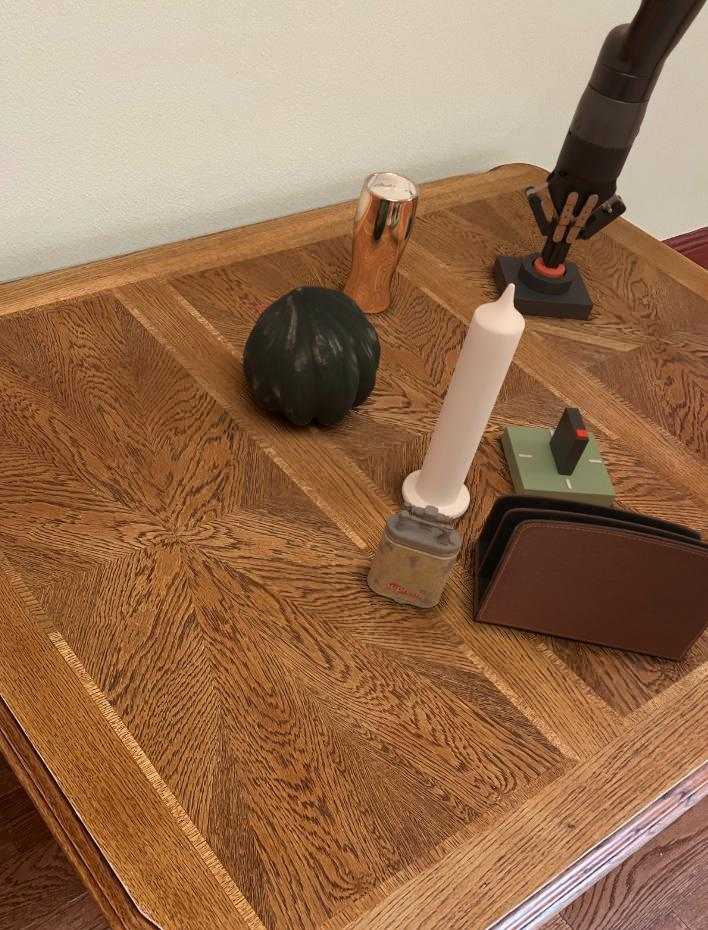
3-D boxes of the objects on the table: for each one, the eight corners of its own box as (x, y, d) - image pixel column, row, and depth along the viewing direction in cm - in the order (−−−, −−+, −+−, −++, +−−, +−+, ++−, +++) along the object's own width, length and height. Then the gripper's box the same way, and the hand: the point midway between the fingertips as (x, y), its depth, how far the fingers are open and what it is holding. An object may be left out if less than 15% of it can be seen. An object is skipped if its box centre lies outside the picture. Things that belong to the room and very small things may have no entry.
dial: (548, 442, 102) (566, 405, 98) (561, 443, 103) (579, 406, 98) (558, 474, 99) (577, 436, 95) (571, 475, 99) (590, 438, 95)
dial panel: (585, 445, 106) (593, 430, 104) (608, 508, 100) (617, 494, 98) (500, 439, 105) (506, 424, 103) (518, 502, 99) (524, 487, 97)
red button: (556, 270, 125) (561, 258, 123) (563, 287, 122) (568, 275, 121) (527, 267, 124) (532, 255, 123) (533, 284, 122) (538, 272, 120)
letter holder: (681, 663, 87) (761, 564, 77) (472, 622, 88) (522, 517, 77) (668, 584, 94) (740, 482, 83) (473, 545, 94) (519, 438, 83)
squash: (419, 356, 104) (354, 235, 97) (372, 437, 95) (296, 310, 88) (319, 389, 113) (253, 281, 106) (267, 465, 105) (192, 353, 98)
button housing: (569, 277, 129) (580, 250, 126) (587, 320, 123) (599, 293, 119) (491, 269, 128) (501, 242, 125) (505, 312, 121) (516, 285, 118)
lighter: (442, 587, 90) (473, 514, 82) (435, 616, 88) (466, 544, 80) (371, 565, 91) (394, 491, 83) (362, 593, 88) (385, 519, 81)
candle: (459, 530, 95) (545, 318, 76) (393, 506, 96) (462, 292, 77) (474, 487, 99) (560, 276, 80) (411, 465, 101) (481, 251, 81)
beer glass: (390, 320, 117) (420, 206, 106) (335, 309, 117) (359, 194, 106) (394, 290, 122) (423, 177, 110) (341, 280, 122) (364, 166, 110)
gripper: (648, 121, 112) (591, 253, 125) (541, 108, 110) (495, 244, 124) (667, 151, 107) (605, 286, 120) (555, 138, 105) (505, 276, 119)
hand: (549, 264), depth 122 cm, fingers closed
